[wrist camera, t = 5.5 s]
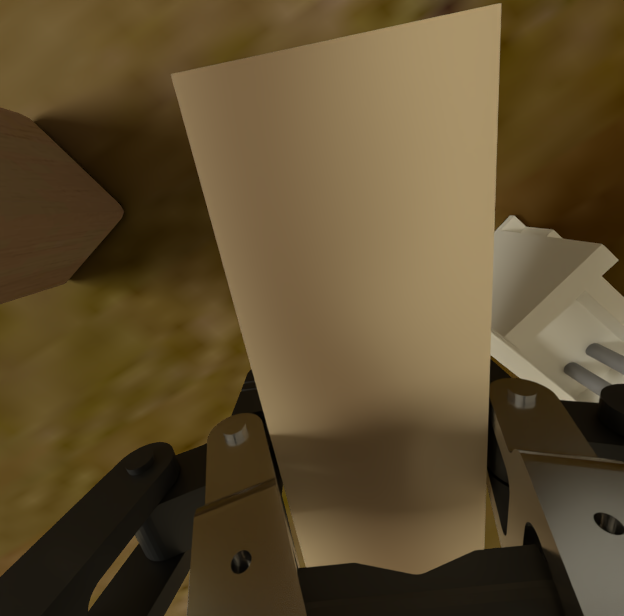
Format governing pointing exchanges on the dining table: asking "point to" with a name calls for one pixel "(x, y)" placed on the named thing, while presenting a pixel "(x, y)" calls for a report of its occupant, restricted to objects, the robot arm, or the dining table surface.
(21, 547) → the dining table surface
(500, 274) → the peg cradle
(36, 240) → the wooden block
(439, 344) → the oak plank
